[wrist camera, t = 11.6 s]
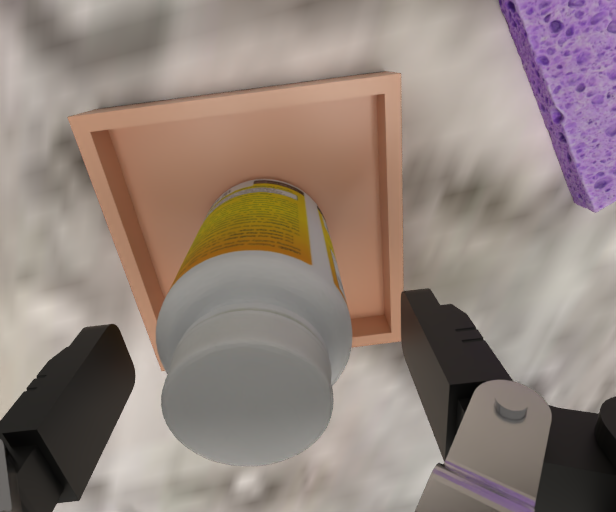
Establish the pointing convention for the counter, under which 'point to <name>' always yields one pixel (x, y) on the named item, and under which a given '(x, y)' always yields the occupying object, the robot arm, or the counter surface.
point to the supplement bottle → (254, 328)
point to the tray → (257, 165)
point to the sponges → (573, 86)
